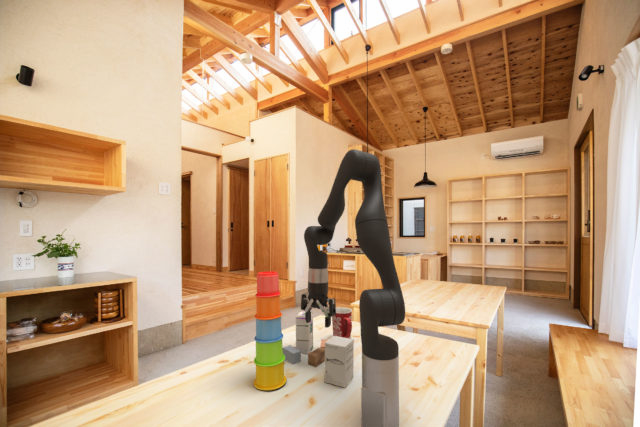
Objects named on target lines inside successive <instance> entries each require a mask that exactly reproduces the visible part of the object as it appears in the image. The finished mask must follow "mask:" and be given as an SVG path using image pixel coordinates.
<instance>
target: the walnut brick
mask: <svg viewBox="0 0 640 427" xmlns="http://www.w3.org/2000/svg"><path fill="white" fill-rule="evenodd" d="M324 363H325V349H324V348H320V347H317V348H316V349H314V350H312V351H311V352H310V353H308V354H307V365H308V366H310V367H314V368H317V367H319V366H320V365H322V364H324Z"/></svg>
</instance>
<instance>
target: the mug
mask: <svg viewBox="0 0 640 427" xmlns="http://www.w3.org/2000/svg"><path fill="white" fill-rule="evenodd" d="M352 313H353V310H352V309H351V308H348V307H336V315H334V316H332V317H331V323H332V324H331V325H332V335H333V336H339V337H344V338H349V339H352V331H353V330H352V329H353V323H352V322H353V321H352V316H353V314H352ZM333 336H332V337H333Z"/></svg>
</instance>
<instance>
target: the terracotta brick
mask: <svg viewBox="0 0 640 427" xmlns="http://www.w3.org/2000/svg"><path fill="white" fill-rule="evenodd" d="M328 340H329V339H320V348H324V349H325V342H326V341H328Z"/></svg>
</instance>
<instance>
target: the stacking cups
mask: <svg viewBox="0 0 640 427" xmlns="http://www.w3.org/2000/svg"><path fill="white" fill-rule="evenodd" d="M280 296H281V292H280V279H279V273H278V271H276V270H275V271H260V272H257V275H256V293H255V297H256V298H255V300H256V301H255V302H256V306H255V307H256V310H255V311H256V312H255V313H256V314H255V315H254V318H255V336H254V338H253V340H254V341H255V357H254V359H253V364H254V365H255V379H254V381H253V387H254V388H256V389H258V390H259V391H266V392H267V391H275V390H279V389H280V388H282V387H283V386H285V385H286V383H287V379H288V378H287V376H286V375H285V361H286V360H285V355H284V354H283V347H284V346H283V338H284V334H283V333H282V332H283V330H282V316H283V313H282V312H281V301H280V300H281V297H280Z"/></svg>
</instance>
